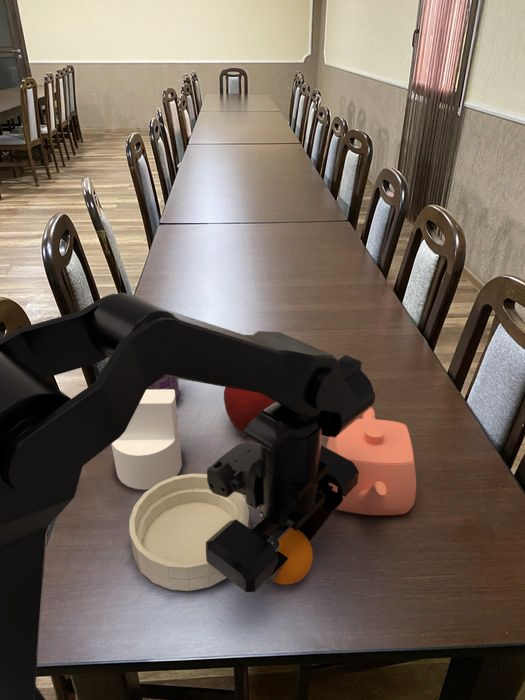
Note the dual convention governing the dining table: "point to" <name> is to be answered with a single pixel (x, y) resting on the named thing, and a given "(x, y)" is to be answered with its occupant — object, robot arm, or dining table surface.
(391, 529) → the dining table surface
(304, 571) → the orange
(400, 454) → the teapot
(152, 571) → the bowl
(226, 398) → the apple
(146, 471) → the cylinder with rectangular tab
